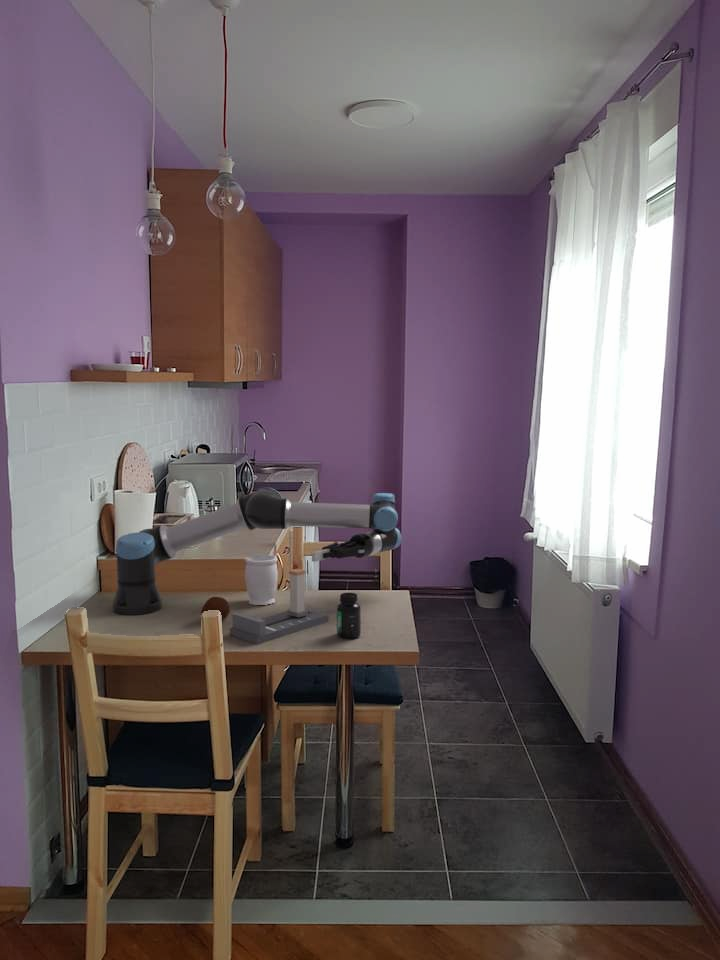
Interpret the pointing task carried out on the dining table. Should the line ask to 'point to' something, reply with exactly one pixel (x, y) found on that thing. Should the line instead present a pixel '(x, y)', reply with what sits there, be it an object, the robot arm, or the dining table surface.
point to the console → (272, 625)
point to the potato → (217, 606)
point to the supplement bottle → (348, 617)
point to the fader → (297, 593)
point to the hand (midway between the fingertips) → (313, 557)
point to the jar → (261, 578)
